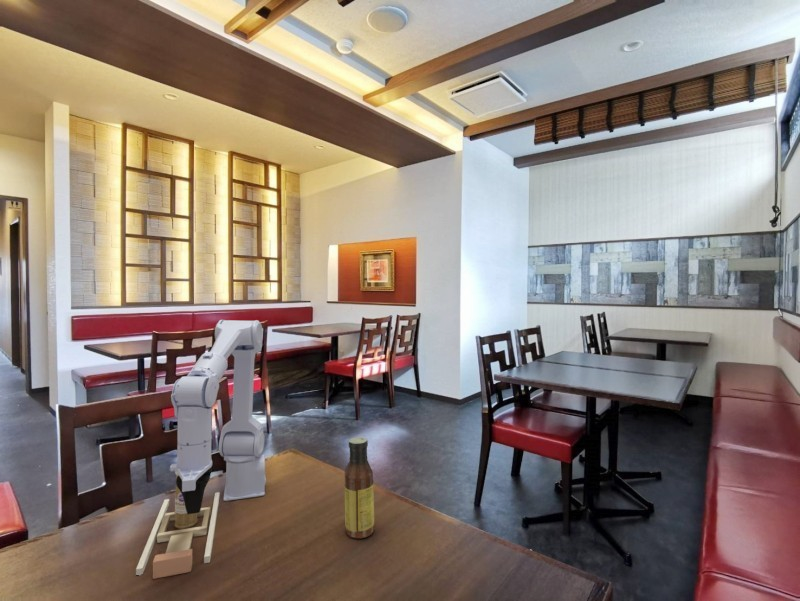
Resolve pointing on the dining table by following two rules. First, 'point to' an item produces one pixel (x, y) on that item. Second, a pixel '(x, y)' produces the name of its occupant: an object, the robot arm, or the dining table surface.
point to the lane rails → (156, 529)
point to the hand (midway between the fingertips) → (193, 511)
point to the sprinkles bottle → (182, 512)
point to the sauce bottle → (359, 491)
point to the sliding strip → (177, 546)
